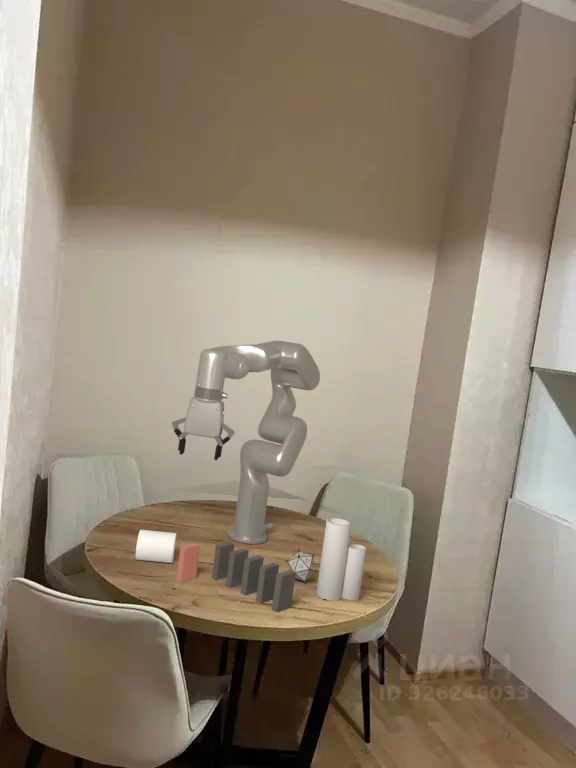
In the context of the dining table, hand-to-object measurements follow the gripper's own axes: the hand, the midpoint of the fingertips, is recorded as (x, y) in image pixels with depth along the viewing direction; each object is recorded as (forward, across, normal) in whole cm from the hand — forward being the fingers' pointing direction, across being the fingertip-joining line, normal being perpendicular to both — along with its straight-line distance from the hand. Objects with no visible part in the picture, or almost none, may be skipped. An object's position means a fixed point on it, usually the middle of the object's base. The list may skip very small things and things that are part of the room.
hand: (198, 456), depth 176 cm
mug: (+30, +8, -1) cm, 31 cm away
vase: (+30, -43, +6) cm, 52 cm away
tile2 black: (+30, -12, +6) cm, 33 cm away
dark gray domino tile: (+30, -16, +9) cm, 35 cm away
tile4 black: (+30, -20, +13) cm, 38 cm away
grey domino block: (+30, -29, +20) cm, 46 cm away
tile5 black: (+30, -24, +16) cm, 42 cm away
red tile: (+30, -3, +11) cm, 32 cm away
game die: (+29, -33, 0) cm, 44 cm away
